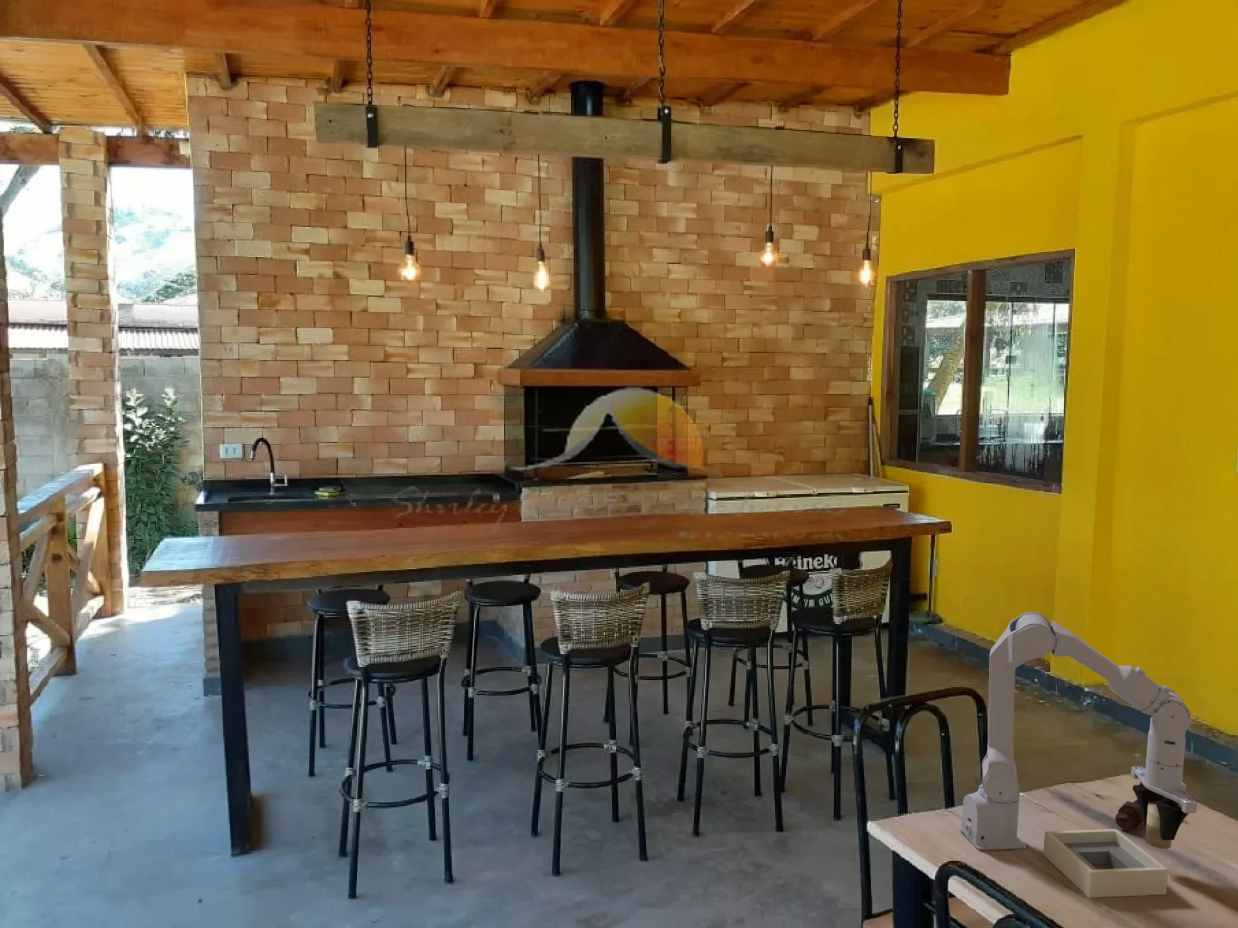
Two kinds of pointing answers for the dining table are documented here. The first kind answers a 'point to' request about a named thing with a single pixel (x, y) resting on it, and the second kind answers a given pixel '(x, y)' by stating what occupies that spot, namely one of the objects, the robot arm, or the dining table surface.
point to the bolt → (1130, 815)
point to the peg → (1154, 828)
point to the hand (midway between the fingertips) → (1158, 832)
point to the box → (1109, 847)
